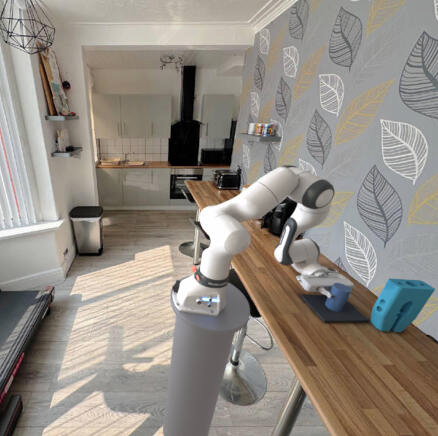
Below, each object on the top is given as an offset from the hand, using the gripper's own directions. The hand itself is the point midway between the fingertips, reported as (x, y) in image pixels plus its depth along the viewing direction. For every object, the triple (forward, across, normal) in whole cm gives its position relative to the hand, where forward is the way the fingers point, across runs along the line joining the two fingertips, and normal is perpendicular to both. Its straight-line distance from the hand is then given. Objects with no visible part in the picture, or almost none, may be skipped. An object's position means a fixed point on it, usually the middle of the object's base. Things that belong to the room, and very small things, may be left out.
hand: (340, 296), depth 93 cm
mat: (-1, 0, +7) cm, 7 cm away
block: (+8, +14, +7) cm, 18 cm away
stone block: (-29, +10, +7) cm, 31 cm away
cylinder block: (-1, 0, +6) cm, 6 cm away
